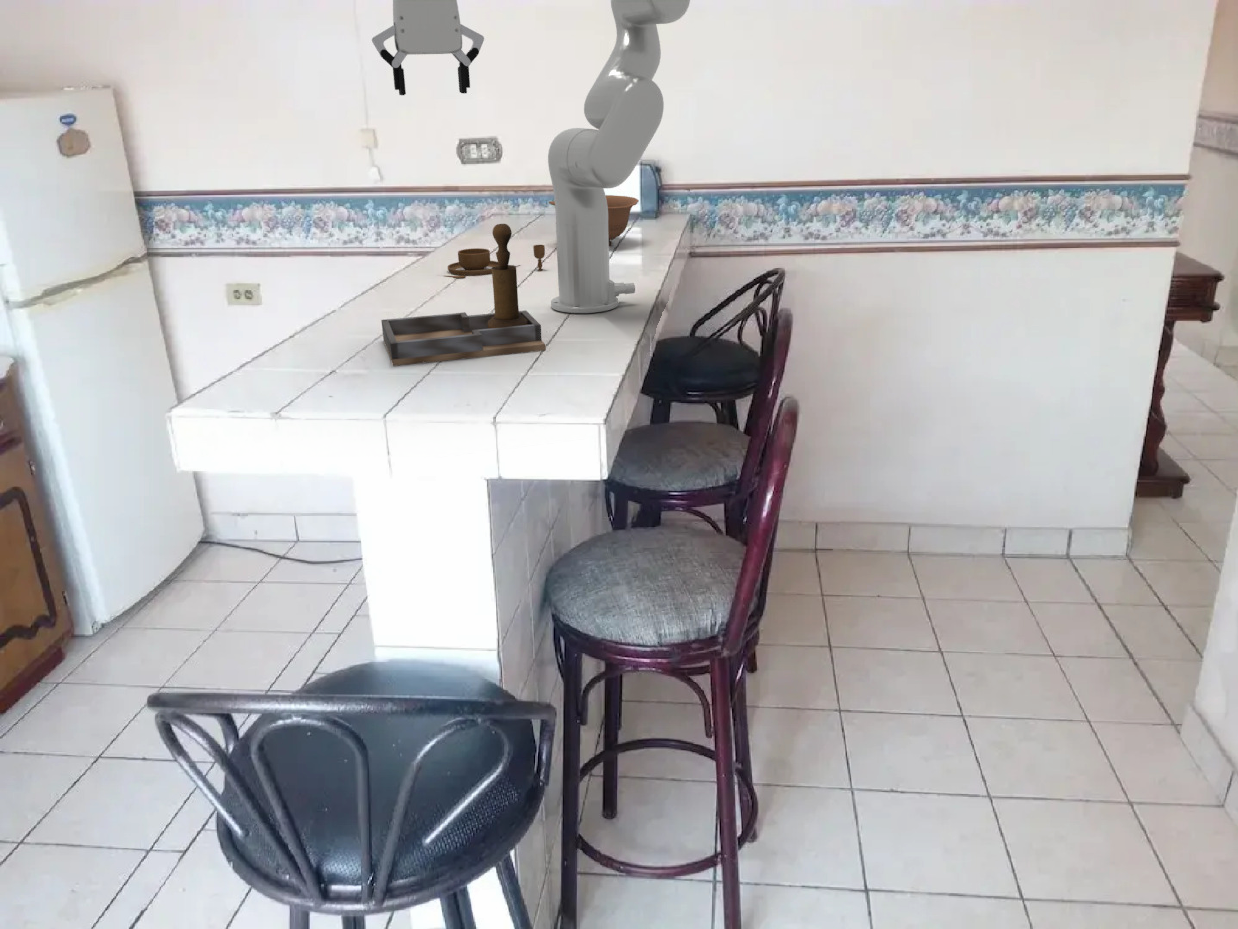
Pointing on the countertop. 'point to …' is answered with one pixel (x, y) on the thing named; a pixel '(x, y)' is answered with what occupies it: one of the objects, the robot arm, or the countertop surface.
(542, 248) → the place setting
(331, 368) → the countertop surface
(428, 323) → the keyhole board
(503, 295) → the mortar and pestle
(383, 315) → the countertop surface
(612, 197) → the bowl
